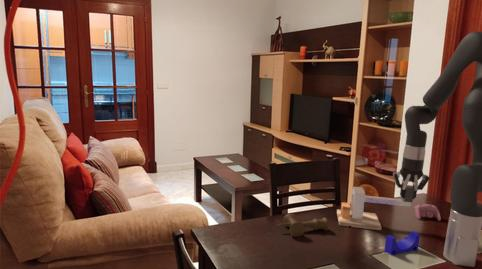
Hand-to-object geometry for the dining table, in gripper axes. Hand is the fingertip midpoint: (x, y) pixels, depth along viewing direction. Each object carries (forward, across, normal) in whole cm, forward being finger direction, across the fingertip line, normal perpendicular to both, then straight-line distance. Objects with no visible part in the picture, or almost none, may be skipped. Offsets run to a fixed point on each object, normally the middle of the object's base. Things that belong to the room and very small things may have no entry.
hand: (407, 198), depth 140 cm
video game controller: (+12, +12, +12) cm, 21 cm away
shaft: (+3, -8, 0) cm, 8 cm away
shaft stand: (+12, -18, 0) cm, 22 cm away
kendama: (+13, -41, -15) cm, 45 cm away
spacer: (+11, -23, 0) cm, 26 cm away
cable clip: (+13, -7, -20) cm, 25 cm away
